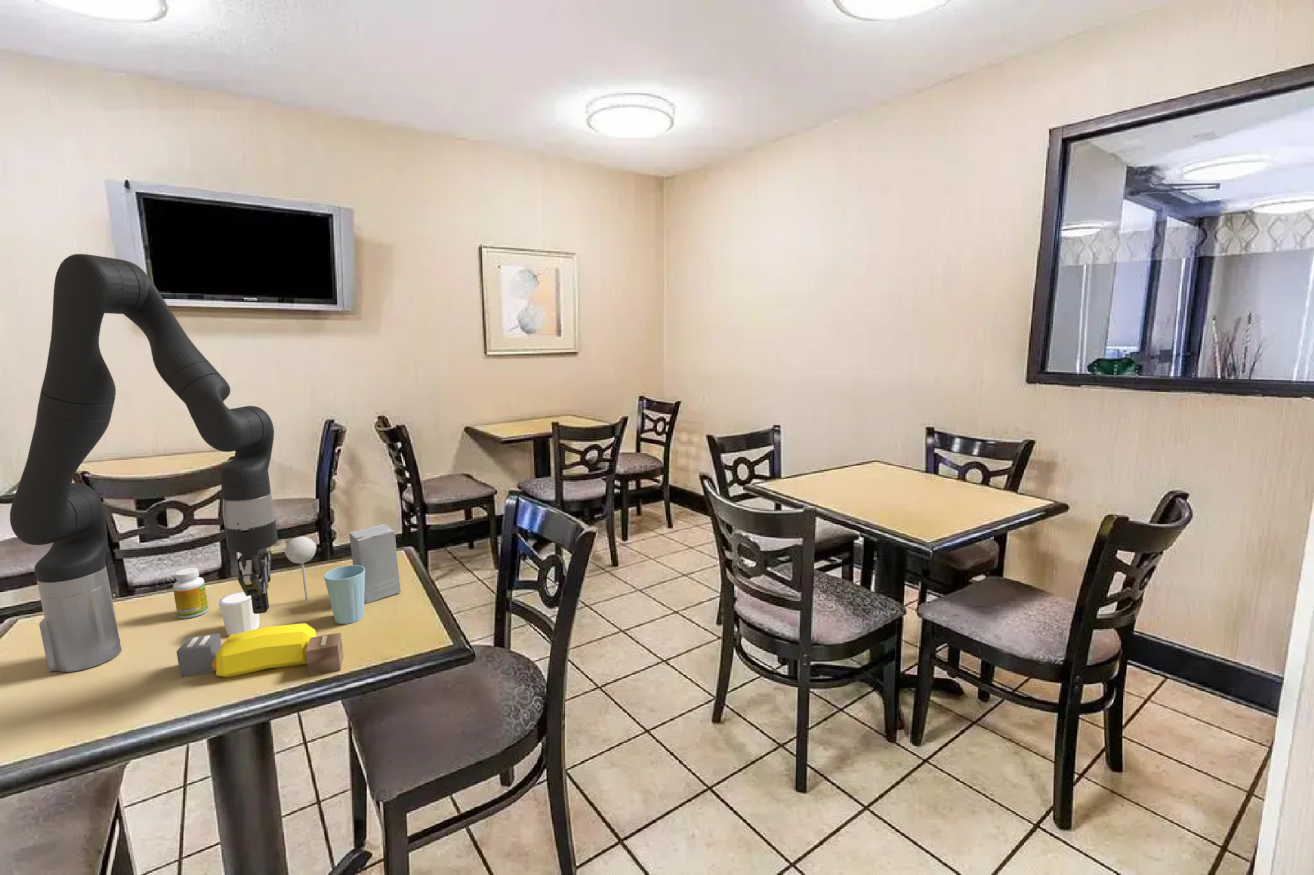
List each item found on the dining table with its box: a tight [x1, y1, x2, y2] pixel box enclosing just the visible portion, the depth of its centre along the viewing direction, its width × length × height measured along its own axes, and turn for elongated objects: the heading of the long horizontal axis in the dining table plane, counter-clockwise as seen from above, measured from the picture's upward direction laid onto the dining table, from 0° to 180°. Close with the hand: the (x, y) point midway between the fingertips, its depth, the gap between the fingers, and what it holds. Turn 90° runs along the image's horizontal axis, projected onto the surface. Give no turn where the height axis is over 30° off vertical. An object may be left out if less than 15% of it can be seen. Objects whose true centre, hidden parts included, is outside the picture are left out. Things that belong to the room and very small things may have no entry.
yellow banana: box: [211, 622, 317, 678], centre depth 112 cm, size 18×7×8 cm
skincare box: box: [348, 523, 402, 605], centre depth 139 cm, size 8×7×16 cm
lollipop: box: [284, 536, 317, 602], centre depth 137 cm, size 6×6×15 cm
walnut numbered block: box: [306, 632, 344, 677], centre depth 111 cm, size 5×5×5 cm
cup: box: [323, 564, 365, 625], centre depth 129 cm, size 8×8×10 cm
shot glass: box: [218, 590, 260, 636], centre depth 125 cm, size 7×7×7 cm
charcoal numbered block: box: [176, 633, 222, 678], centre depth 111 cm, size 5×5×5 cm
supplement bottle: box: [172, 567, 209, 619], centre depth 131 cm, size 5×5×10 cm
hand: (261, 611), depth 110 cm, fingers closed
